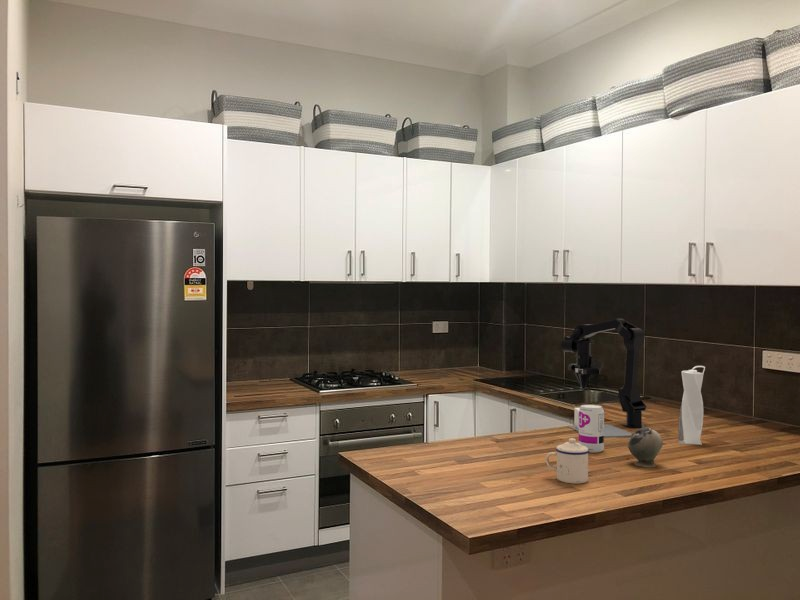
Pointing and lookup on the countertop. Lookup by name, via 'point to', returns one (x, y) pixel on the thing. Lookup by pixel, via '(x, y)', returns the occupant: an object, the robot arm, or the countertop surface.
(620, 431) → the mat
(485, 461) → the countertop surface
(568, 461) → the teacup with lid
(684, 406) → the white tall faceted vessel
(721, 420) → the countertop surface
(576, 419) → the milk carton
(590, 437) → the supplement can
